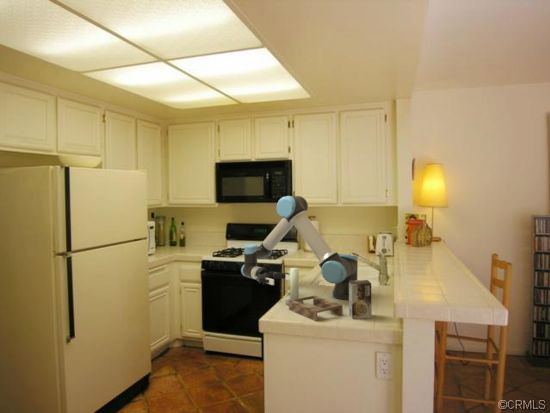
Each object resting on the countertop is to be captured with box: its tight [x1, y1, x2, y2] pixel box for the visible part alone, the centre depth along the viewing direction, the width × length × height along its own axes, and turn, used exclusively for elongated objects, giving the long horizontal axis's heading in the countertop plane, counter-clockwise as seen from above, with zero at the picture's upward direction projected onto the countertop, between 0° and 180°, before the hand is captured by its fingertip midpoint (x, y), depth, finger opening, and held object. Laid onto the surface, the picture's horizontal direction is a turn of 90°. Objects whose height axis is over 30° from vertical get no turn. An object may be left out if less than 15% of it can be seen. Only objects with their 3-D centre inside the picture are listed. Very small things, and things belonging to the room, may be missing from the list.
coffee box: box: [348, 279, 373, 320], centre depth 176 cm, size 9×6×16 cm
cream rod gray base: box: [285, 267, 304, 307], centre depth 196 cm, size 9×9×18 cm
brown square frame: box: [288, 295, 344, 322], centre depth 182 cm, size 20×16×4 cm
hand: (283, 280), depth 203 cm, fingers open, 13 cm apart
